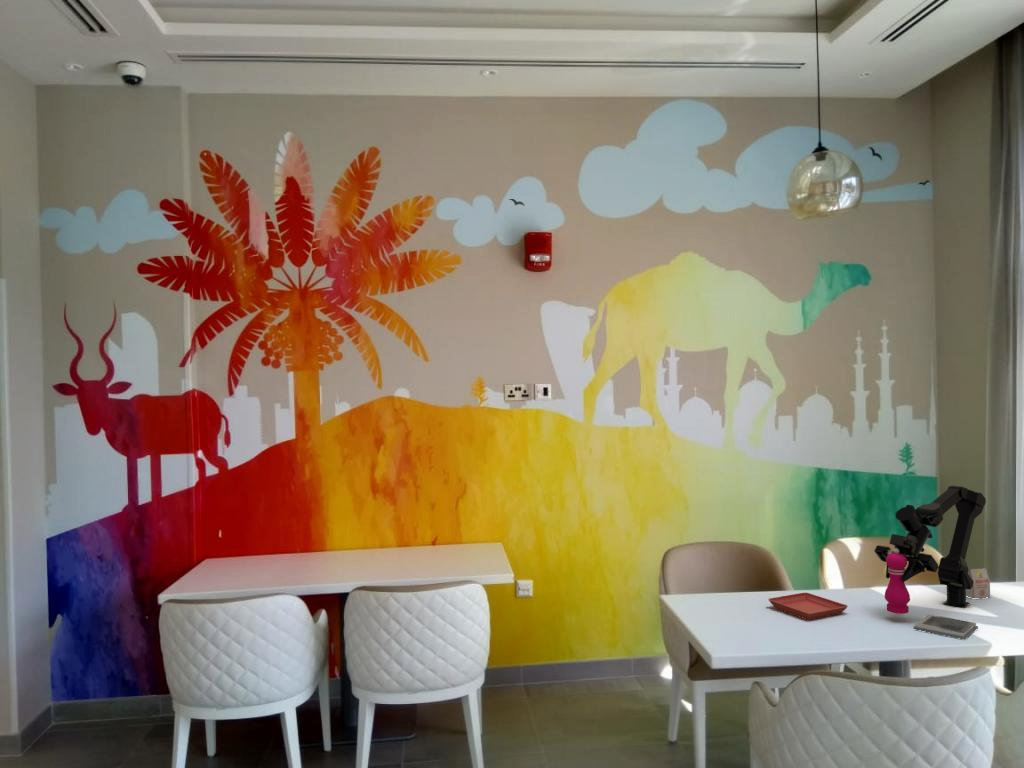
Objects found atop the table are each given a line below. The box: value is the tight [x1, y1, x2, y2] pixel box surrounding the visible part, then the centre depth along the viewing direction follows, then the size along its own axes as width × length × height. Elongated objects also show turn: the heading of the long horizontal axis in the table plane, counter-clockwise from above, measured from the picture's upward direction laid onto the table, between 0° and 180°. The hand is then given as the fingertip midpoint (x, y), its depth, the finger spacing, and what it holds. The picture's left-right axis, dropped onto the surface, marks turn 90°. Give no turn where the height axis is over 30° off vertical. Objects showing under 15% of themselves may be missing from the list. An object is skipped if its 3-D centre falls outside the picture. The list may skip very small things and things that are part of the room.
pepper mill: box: [884, 548, 911, 615], centre depth 246 cm, size 7×7×20 cm
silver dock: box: [912, 614, 979, 640], centre depth 236 cm, size 14×14×2 cm
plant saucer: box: [767, 592, 849, 620], centre depth 257 cm, size 18×18×3 cm
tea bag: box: [966, 567, 991, 598], centre depth 270 cm, size 4×7×10 cm, turn 101°
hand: (894, 579), depth 245 cm, fingers closed on pepper mill, 5 cm apart
